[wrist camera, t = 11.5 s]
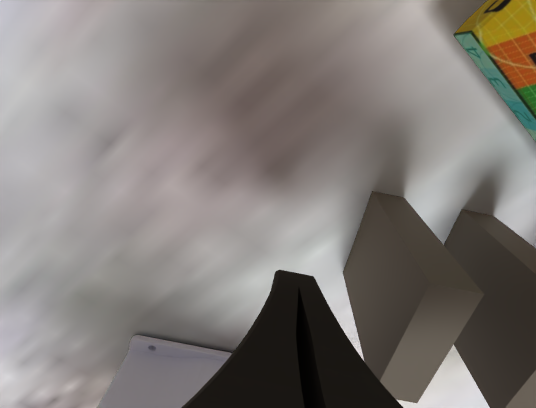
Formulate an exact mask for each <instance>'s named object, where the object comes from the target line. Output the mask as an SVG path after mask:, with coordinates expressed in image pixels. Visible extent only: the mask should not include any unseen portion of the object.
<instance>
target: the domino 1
mask: <svg viewBox="0 0 536 408" xmlns="http://www.w3.org/2000/svg"><path fill="white" fill-rule="evenodd" d="M343 275H344V279H345V283H346V287H347V291H348V296H349V300H350V304H351V308H352V312H353V316H354V320H355V324H356V328H357V332H358V336H359V340H360V344H361V349H362V353H363V357H364V361H365V363H366V364H367V366H368V367H369V368H370V370H371V371H372V372H373V374H374V375H375V376H376V377H377V378H378V380H379V381H380V382H381V383H382V384H383V386H384V387H385V388H386V389H387V390H388V391H389V392H390V394H391V395H392V396H393V397H394V398H395V399H397V400H403V401H408V402H413V403H417V402H418V401H419V399H420V398H421V396H422V394H423V393H424V391H425V390H426V388H427V386H428V385H429V383H430V381H431V380H432V378H433V377H434V375H435V373H436V372H437V370H438V368H439V367H440V365H441V364H442V362H443V360H444V359H445V357H446V355H447V354H448V352H449V351H450V349H451V347H452V346H453V344H454V343H455V341H456V339H457V338H458V336H459V334H460V333H461V331H462V330H463V328H464V326H465V325H466V323H467V321H468V320H469V318H470V317H471V315H472V313H473V312H474V310H475V308H476V307H477V305H478V304H479V302H480V300H481V299H482V297H483V296H484V293H483V292H482V291H481V290H480V289H479V287H478V286H477V285H476V284H475V283H474V281H473V280H472V279H471V278H470V276H469V275H468V274H467V273H466V272H465V270H464V269H463V268H462V267H461V266H460V264H459V263H458V262H457V261H456V260H455V258H454V257H453V256H452V255H451V254H450V252H449V251H448V250H447V249H446V248H445V246H444V245H443V244H442V243H441V242H440V240H439V239H438V238H437V237H436V235H435V234H434V233H433V232H432V231H431V229H430V228H429V227H428V226H427V225H426V223H425V222H424V221H423V220H422V219H421V217H420V216H419V215H418V214H417V213H416V211H415V210H414V209H413V208H412V207H411V205H410V204H409V203H408V202H407V201H406V199H405V198H403V197H398V196H393V195H388V194H383V193H378V192H374V191H372V193H371V196H370V199H369V202H368V205H367V207H366V210H365V213H364V216H363V219H362V221H361V224H360V227H359V230H358V232H357V235H356V238H355V241H354V244H353V246H352V249H351V252H350V255H349V258H348V260H347V263H346V266H345V269H344V271H343Z"/></svg>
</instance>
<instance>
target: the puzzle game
mask: <svg viewBox="0 0 536 408" xmlns="http://www.w3.org/2000/svg"><path fill="white" fill-rule="evenodd" d="M454 36H455V38H456V39H457V40H458V42H459V43H460V44H461V45H462V47H463V48H464V49H465V51H466V52H467V53H468V55H469V56H470V57H471V58H472V60H473V61H474V62H475V64H476V65H477V66H478V68H479V69H480V70H481V71H482V73H483V74H484V75H485V77H486V78H487V79H488V80H489V82H490V83H491V84H492V86H493V87H494V88H495V90H496V91H497V92H498V93H499V95H500V96H501V97H502V99H503V100H504V101H505V102H506V104H507V105H508V106H509V108H510V109H511V110H512V112H513V113H514V114H515V115H516V117H517V118H518V119H519V121H520V122H521V123H522V124H523V126H524V127H525V128H526V130H527V131H528V132H529V134H530V135H531V136H532V137H533V139H534V140H535V141H536V0H487V1H486V2H485V3H484V4H483V5H482V6H481V7H480V8H479V9H478V10H477V11H476V12H475V13H474V14H473V15H472V16H470V17H469V18H468V19H467V20H466V21H465V22H464V24H463V25H462V26H461V27H460V28H459V29H458V30H457V31H456V32H455V34H454Z"/></svg>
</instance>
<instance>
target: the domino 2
mask: <svg viewBox="0 0 536 408" xmlns="http://www.w3.org/2000/svg"><path fill="white" fill-rule="evenodd" d="M444 246H445V248H446V249H447V250H448V251H449V252H450V254H451V255H452V256H453V257H454V258H455V260H456V261H457V262H458V263H459V264H460V266H461V267H462V268H463V269H464V270H465V272H466V273H467V274H468V275H469V276H470V278H471V279H472V280H473V281H474V283H475V284H476V285H477V286H478V287H479V289H480V290H481V291H482V292H483V293H484V296H483V297H482V299H481V300H480V302H479V304H478V305H477V307H476V308H475V310H474V312H473V313H472V315H471V317H470V318H469V320H468V321H467V323H466V325H465V326H464V328H463V330H462V331H461V333H460V334H459V336H458V338H457V339H456V341H455V343H454V346H455V347H456V349H457V351H458V353H459V354H460V356H461V358H462V360H463V361H464V363H465V365H466V367H467V368H468V370H469V372H470V374H471V375H472V377H473V379H474V381H475V382H476V384H477V386H478V388H479V389H480V391H481V393H482V395H483V396H484V398H485V400H486V402H487V403H488V405H489V407H490V408H536V248H535V247H533V246H532V245H531V244H529V243H528V242H527V241H525V240H524V239H523V238H522V237H520V236H519V235H518V234H516V233H515V232H514V231H512V230H511V229H510V228H508V227H507V226H506V225H505V224H503V223H502V222H501V221H499V220H498V219H497V218H495V217H494V216H492V215H487V214H482V213H477V212H472V211H467V210H461V212H460V214H459V216H458V218H457V220H456V222H455V224H454V226H453V228H452V230H451V232H450V234H449V236H448V238H447V240H446V242H445V244H444Z"/></svg>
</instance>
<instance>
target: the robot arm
mask: <svg viewBox="0 0 536 408" xmlns="http://www.w3.org/2000/svg"><path fill="white" fill-rule="evenodd" d="M97 408H403V407H402V406H401V405H400V404H399V402H398V401H397V400H396V399H395V398H394V397H393V396H392V395H391V394H390V392H389V391H388V390H387V389H386V388H385V387H384V386H383V384H382V383H381V382H380V381H379V380H378V378H377V377H376V376H375V375H374V374H373V372H372V371H371V370H370V368H369V367H368V366H367V364H366V363H365V362H364V361H363V359H362V358H361V357H360V355H359V354H358V352H357V351H356V350H355V348H354V347H353V345H352V344H351V342H350V341H349V339H348V338H347V336H346V334H345V333H344V331H343V330H342V328H341V326H340V325H339V323H338V321H337V320H336V318H335V316H334V314H333V313H332V311H331V309H330V307H329V305H328V304H327V302H326V300H325V298H324V296H323V294H322V292H321V290H320V288H319V286H318V284H317V282H316V280H315V278H314V277H313V276H309V275H304V274H299V273H294V272H288V271H283V270H278V271H276V272H275V276H274V280H273V284H272V288H271V292H270V294H269V296H268V298H267V300H266V302H265V305H264V307H263V308H262V310H261V312H260V314H259V315H258V317H257V319H256V320H255V322H254V324H253V325H252V327H251V328H250V330H249V331H248V333H247V334H246V336H245V337H244V339H243V340H242V341H241V343H240V344H239V346H238V347H237V348H236V349H235V351H234V352H233V353H229V352H224V351H219V350H214V349H208V348H203V347H198V346H193V345H188V344H182V343H177V342H172V341H167V340H162V339H156V338H151V337H146V336H141V335H135V336H133V337H132V338H131V340H130V342H129V351H128V353H127V355H126V357H125V358H124V360H123V362H122V364H121V366H120V367H119V369H118V371H117V373H116V375H115V376H114V378H113V380H112V382H111V384H110V385H109V387H108V389H107V391H106V392H105V394H104V396H103V398H102V400H101V401H100V403H99V405H98V407H97Z"/></svg>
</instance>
